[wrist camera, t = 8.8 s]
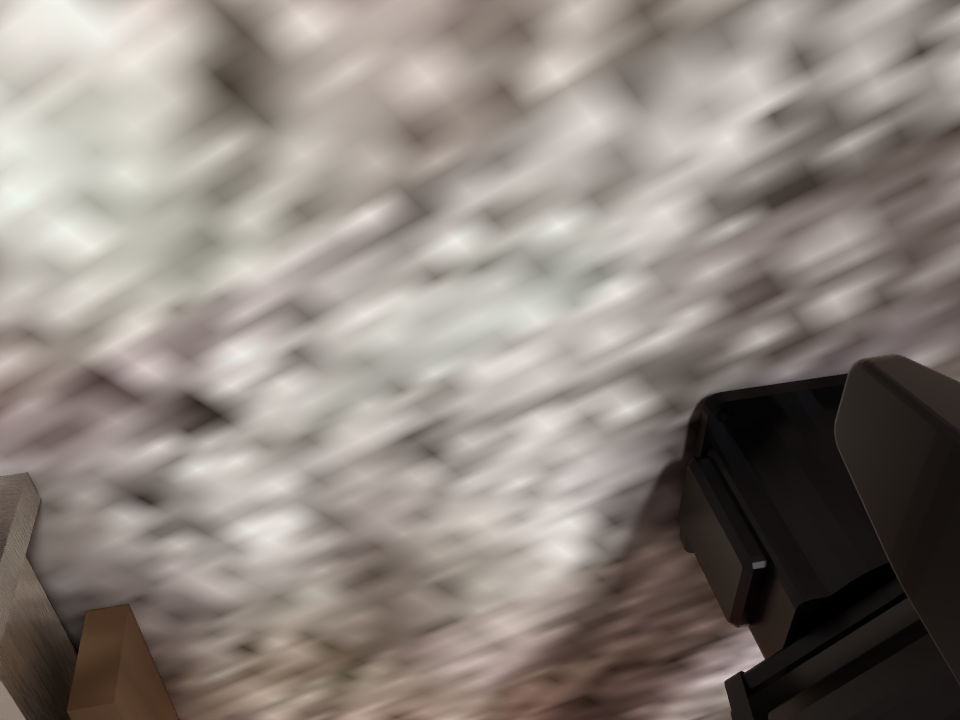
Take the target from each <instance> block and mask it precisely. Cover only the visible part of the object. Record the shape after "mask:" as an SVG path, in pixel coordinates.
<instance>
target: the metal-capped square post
mask: <svg viewBox="0 0 960 720" xmlns="http://www.w3.org/2000/svg"><path fill="white" fill-rule="evenodd" d="M39 504H40V498H39V496H38V494H37V492H36V490H35V487H34V485H33V483H32V481H31V479H30V477H29V475H28V473H21V474H14V475H7V476H0V720H72V719H71V718H70V716H69V714H68V713H67V708H68V703H69V698H70V693H71V687H72V682H73V677H74V672H75V667H76V662H77V656H78V655H77V653H76V651H75V649H74V647H73V645H72V643H71V641H70V640H69V638H68V636H67V634H66V632H65V630H64V628H63V626H62V624H61V622H60V620H59V619H58V617H57V615H56V613H55V611H54V609H53V607H52V605H51V603H50V601H49V600H48V598H47V596H46V594H45V592H44V590H43V588H42V586H41V584H40V582H39V581H38V579H37V577H36V575H35V573H34V571H33V569H32V567H31V565H30V563H29V562H28V560H27V558H26V556H25V555H26V551H27V548H28V544H29V540H30V537H31V533H32V530H33V526H34V522H35V519H36V515H37V511H38V508H39Z"/></svg>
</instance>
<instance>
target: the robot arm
mask: <svg viewBox="0 0 960 720" xmlns="http://www.w3.org/2000/svg"><path fill="white" fill-rule="evenodd" d="M724 408H725V409H724ZM721 409H724V410H722V411H720V410H721ZM719 411H720V412H719ZM678 520H679V523H680V525H681V530H680V535H679V536H680V541H681V543H682V545H683V547H684V549H685V550H686V551H687V552H690V553H695V555H696V557H697V560H698V562H699V564H700V566H701V568H702V570H703V572H704V574H705V576H706V578H707V580H708V582H709V584H710V586H711V588H712V590H713V592H714V594H715V596H716V598H717V600H718V602H719V605H720V607H721V609H722V611H723V613H724V615H725V617H726V619H727V621H728V622H730V623H731V624H732V625H734V626H735V627H737V628H739V627H745V626H748V627H749V629H750V631H751V633H752V635H753V637H754V639H755V641H756V643H757V645H758V647H759V648H760V650H761V652H762V654H763V656H764V658H765V660H764V661H762V662H761V663H759V664H758V665H756V666H754V667H753V668H751V669H750V670H748V671H747V672H743V671H740V672H738V673H737V674H735V675H734V676H732V677H731V678H729V679H727V680H726V681H725V682H724V683H725V688H726V691H727V695H728V699H729V702H730V706H731V710H732V711H731V717H732V720H960V382H958V381H956V380H954V379H952V378H950V377H947V376H945V375H943V374H941V373H939V372H937V371H934V370H932V369H930V368H928V367H926V366H924V365H921V364H919V363H917V362H915V361H913V360H910V359H908V358H906V357H904V356H901V355H884V356H878V357H871V358H865V359H861V360H858V361H856V362H855V363H854V364H853V365H852V367H851V368H850V370H849V372H848V374H843V375H836V376H829V377H823V378H816V379H809V380H802V381H795V382H788V383H782V384H775V385H768V386H761V387H754V388H747V389H741V390H734V391H727V392H721V393H717V394H714V395H713V396H711V397H710V398H708V399H707V401H706V402H705V403H704V405H703V407H702V412H701V418H700V423H699V429H698V435H697V440H696V446H695V451H694V457H693V458H692V459H691V461H690V462H689V464H688V466H687V470H686V476H685V482H684V488H683V493H682V499H681V505H680V511H679V516H678Z"/></svg>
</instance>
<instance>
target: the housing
mask: <svg viewBox="0 0 960 720" xmlns="http://www.w3.org/2000/svg"><path fill="white" fill-rule="evenodd" d="M67 713H68V714H69V716H70V718H71V719H72V720H179V718H178V716H177V714H176V711H175V709H174V707H173V704H172V702H171V700H170V698H169V695H168V693H167V691H166V688H165V686H164V684H163V682H162V679H161V677H160V675H159V672H158V670H157V668H156V666H155V663H154V661H153V659H152V656H151V654H150V652H149V649H148V647H147V645H146V643H145V640H144V638H143V636H142V633H141V631H140V629H139V627H138V624H137V622H136V620H135V617H134V615H133V613H132V611H131V608H130V606H129V604H128V605H122V606H116V607H110V608H104V609H97V610H91V611H86V615H85V620H84V625H83V631H82V636H81V641H80V646H79V651H78V656H77V662H76V667H75V672H74V677H73V682H72V687H71V693H70V698H69V703H68V708H67Z"/></svg>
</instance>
